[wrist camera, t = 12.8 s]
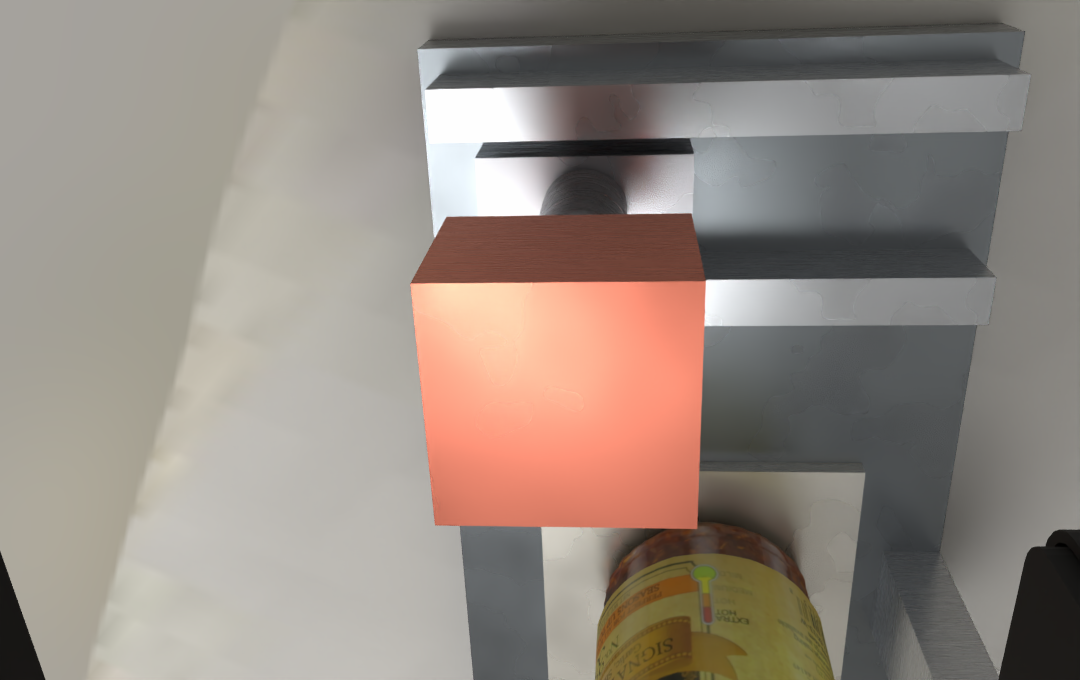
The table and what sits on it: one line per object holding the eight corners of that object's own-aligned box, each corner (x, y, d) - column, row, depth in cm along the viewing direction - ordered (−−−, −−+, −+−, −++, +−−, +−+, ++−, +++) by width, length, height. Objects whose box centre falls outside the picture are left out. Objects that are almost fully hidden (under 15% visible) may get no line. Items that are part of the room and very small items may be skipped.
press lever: (686, 266, 25) (731, 529, 15) (491, 268, 25) (402, 524, 15) (690, 108, 23) (743, 281, 13) (482, 113, 23) (374, 283, 13)
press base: (896, 706, 33) (1024, 1089, 22) (483, 694, 34) (421, 1052, 23) (1001, 23, 23) (1306, 130, 13) (428, 40, 25) (286, 151, 14)
